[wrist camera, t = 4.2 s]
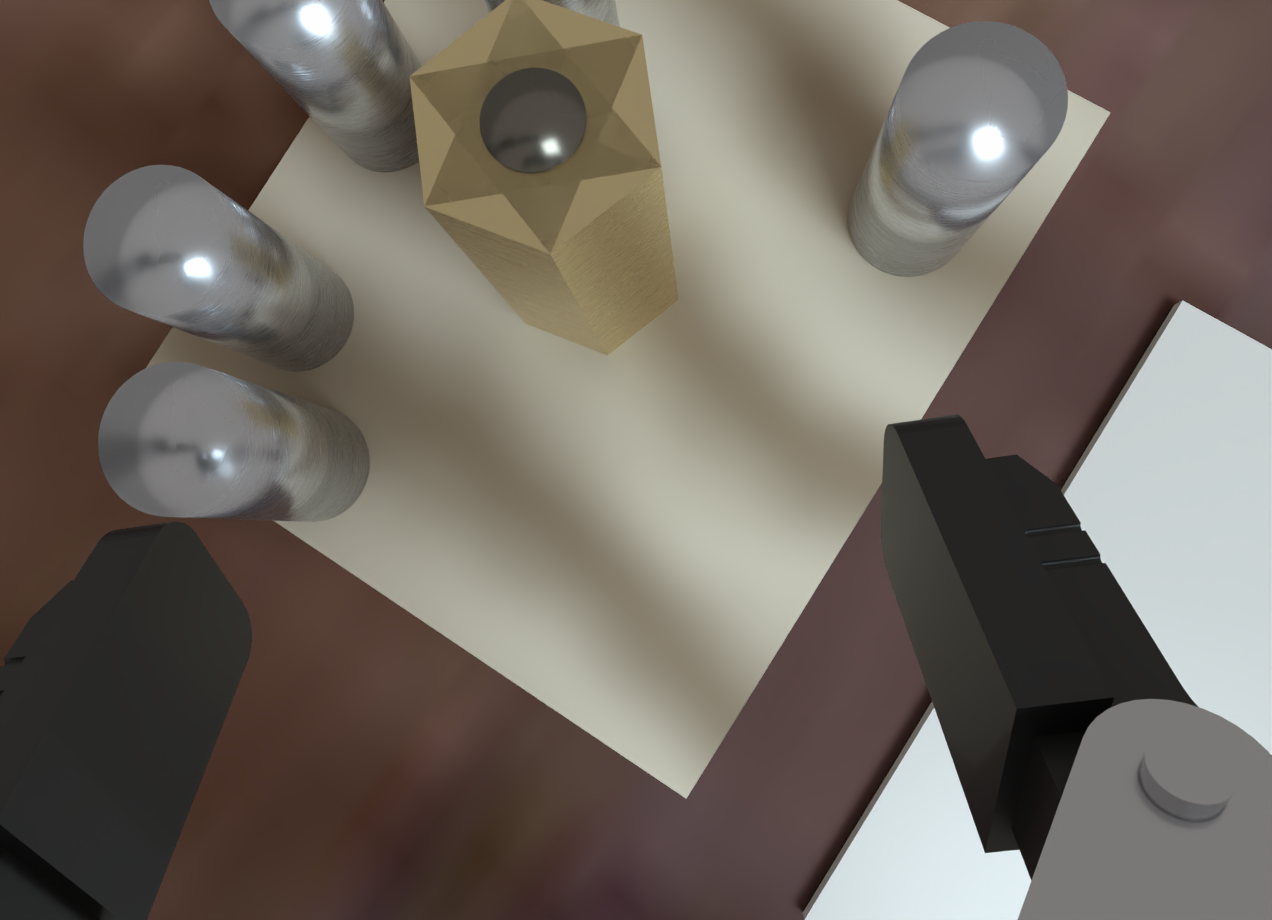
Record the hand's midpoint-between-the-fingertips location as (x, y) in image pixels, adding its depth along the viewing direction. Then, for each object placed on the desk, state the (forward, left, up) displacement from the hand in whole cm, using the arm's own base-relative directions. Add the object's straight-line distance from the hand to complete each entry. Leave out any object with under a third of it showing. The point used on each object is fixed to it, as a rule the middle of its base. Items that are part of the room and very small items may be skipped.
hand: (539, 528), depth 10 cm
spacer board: (+5, +4, -13) cm, 14 cm away
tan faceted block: (+5, +4, -12) cm, 14 cm away
